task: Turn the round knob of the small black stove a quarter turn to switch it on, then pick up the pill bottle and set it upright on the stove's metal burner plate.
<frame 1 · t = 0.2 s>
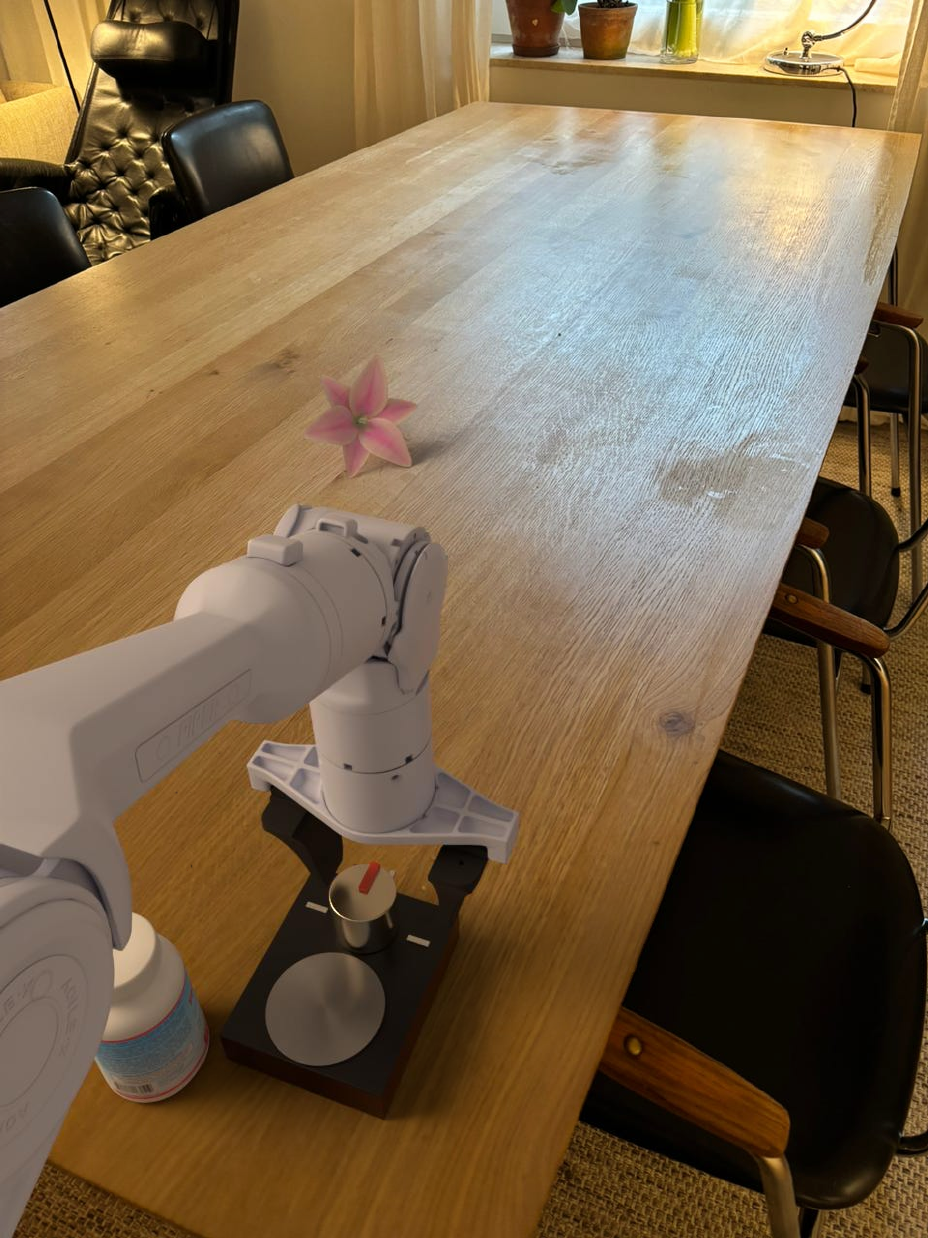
hand: (390, 891, 57), 8 cm above the table, tool pointing down, fingers open, 7 cm apart
lily: (365, 458, 108), on the table
burner: (330, 1033, 59), resting on stove
pill bottle: (158, 1054, 58), on the table
stove knob: (364, 907, 59), point 5 cm above the table, hinge at 0.0°
stove: (348, 996, 60), on the table
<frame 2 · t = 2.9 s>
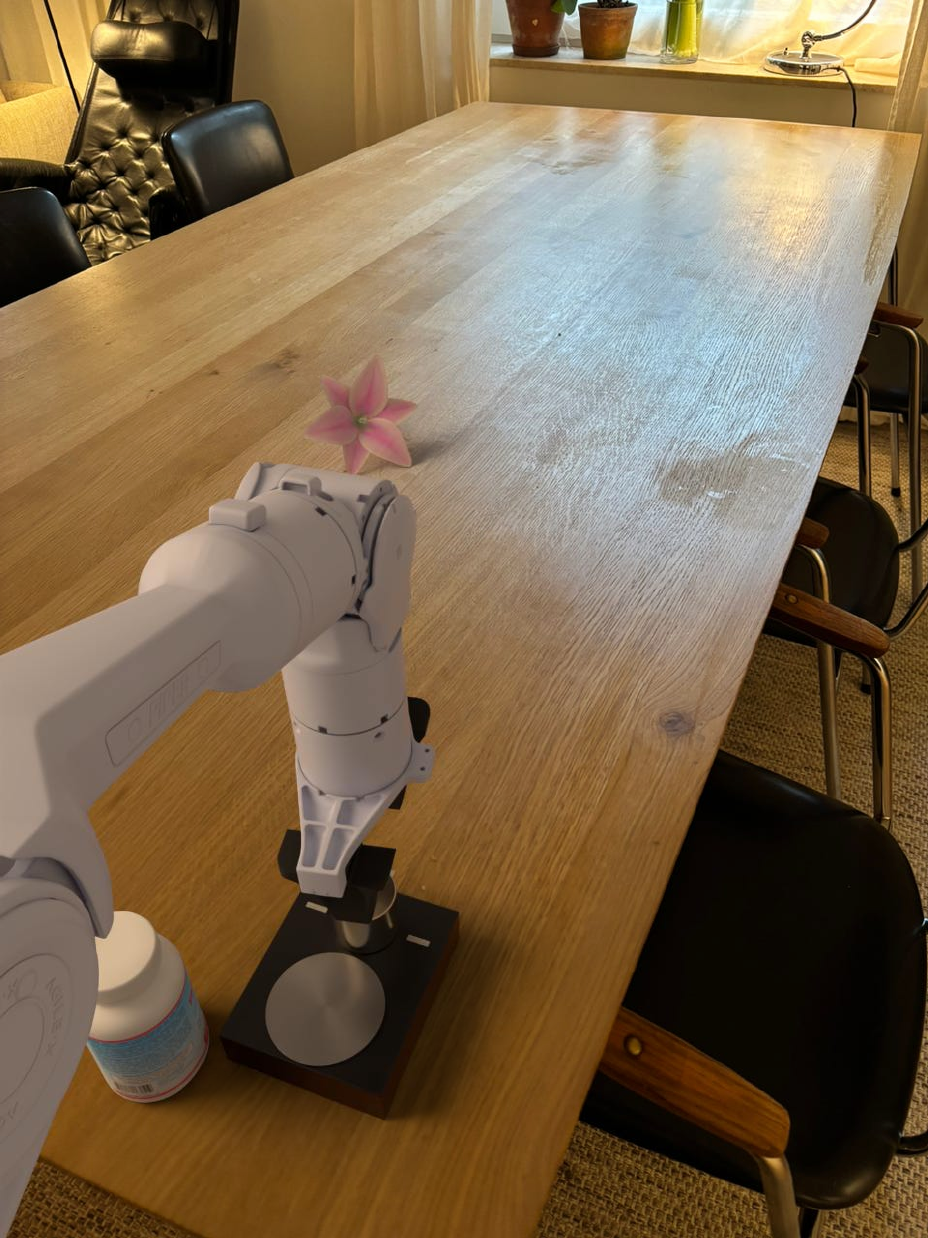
hand: (369, 857, 57), 10 cm above the table, tool pointing down, fingers open, 7 cm apart
nothing on the table moved.
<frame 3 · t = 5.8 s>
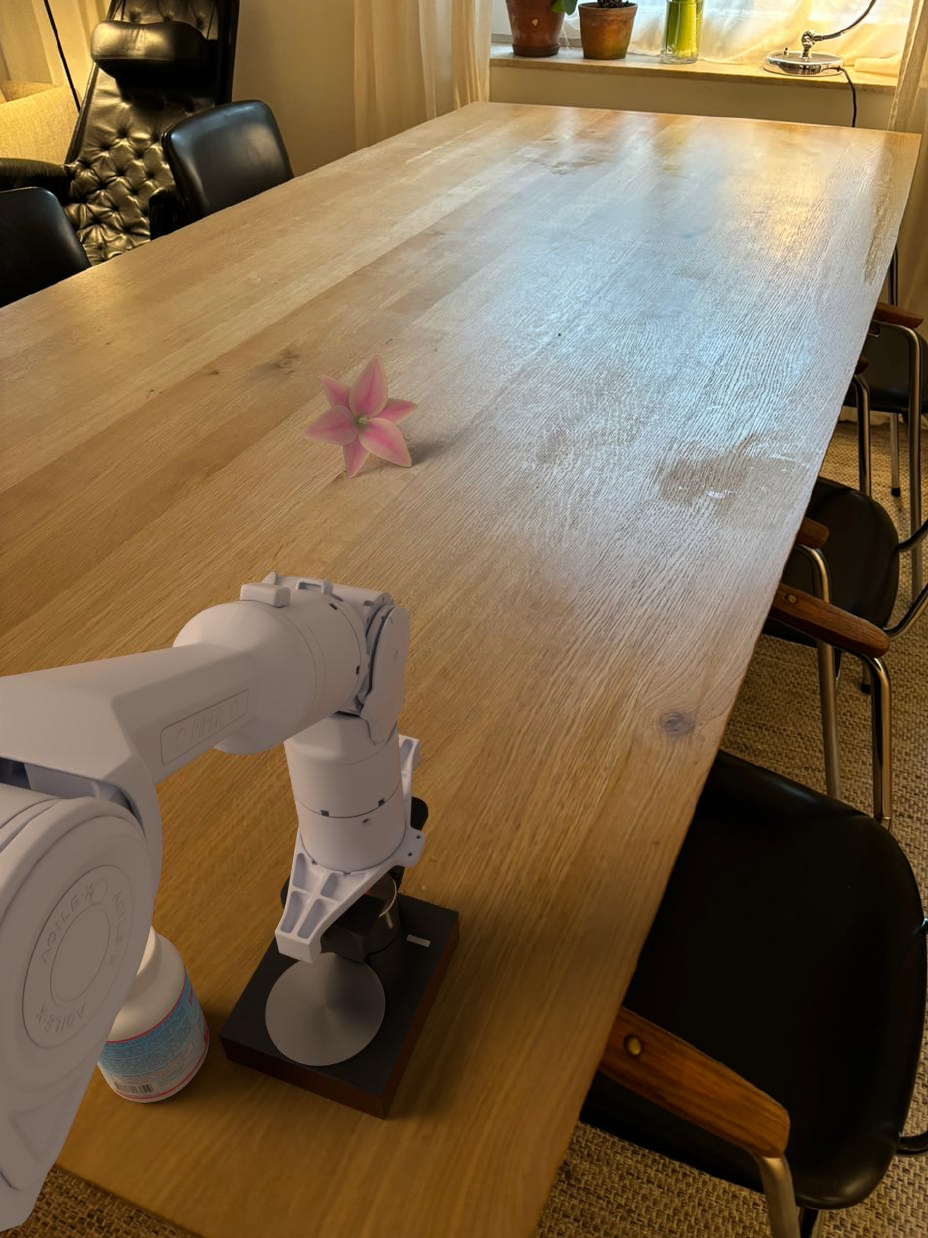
hand: (366, 921, 60), 4 cm above the table, tool pointing down, fingers closed on stove knob, 4 cm apart
stove knob: (364, 907, 59), point 5 cm above the table, hinge at 0.1°, touching gripper
everything else where it was.
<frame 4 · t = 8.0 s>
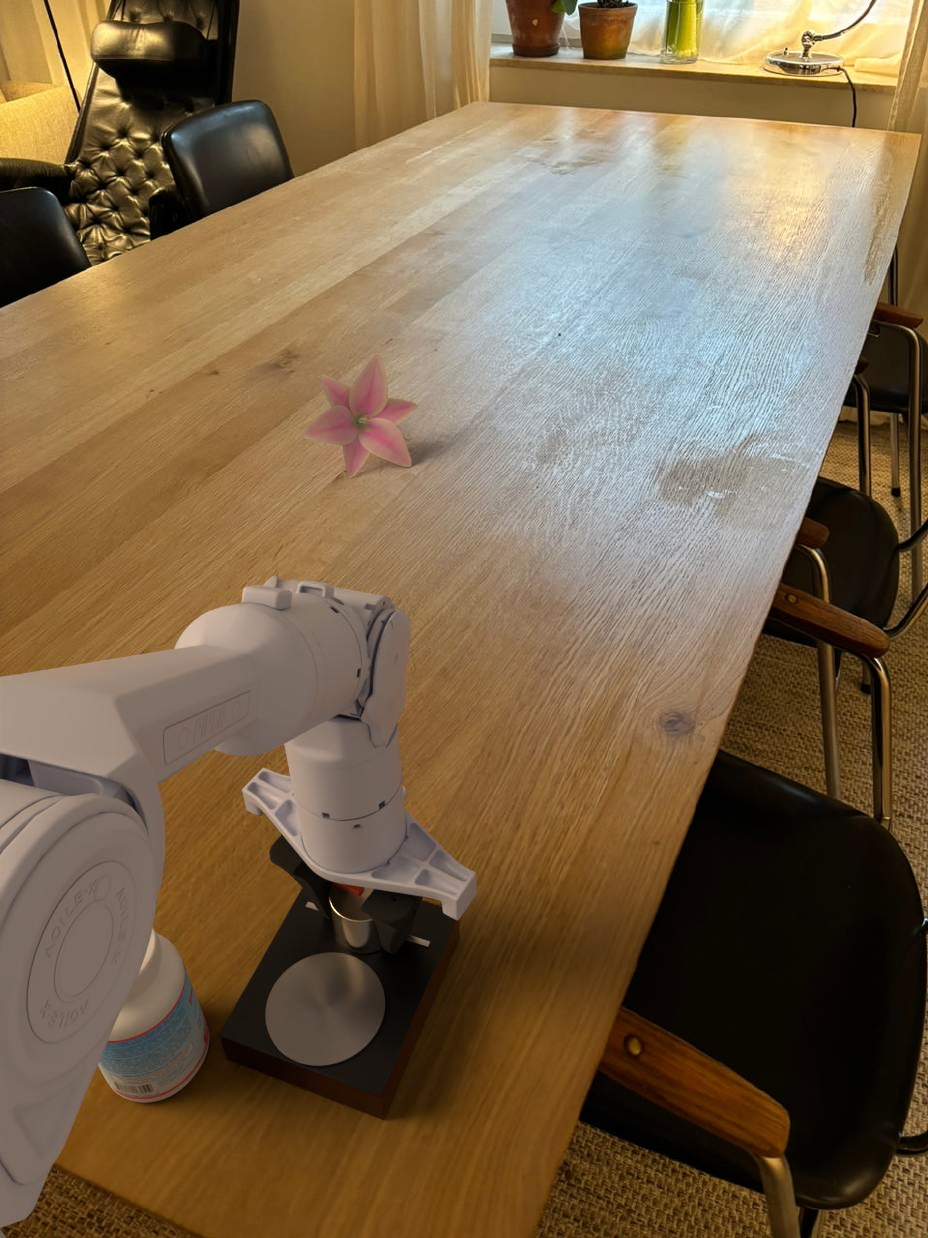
hand: (366, 922, 61), 3 cm above the table, tool pointing down, fingers open, 4 cm apart
stove knob: (364, 907, 59), point 5 cm above the table, hinge at 79.9°
everything else where it was.
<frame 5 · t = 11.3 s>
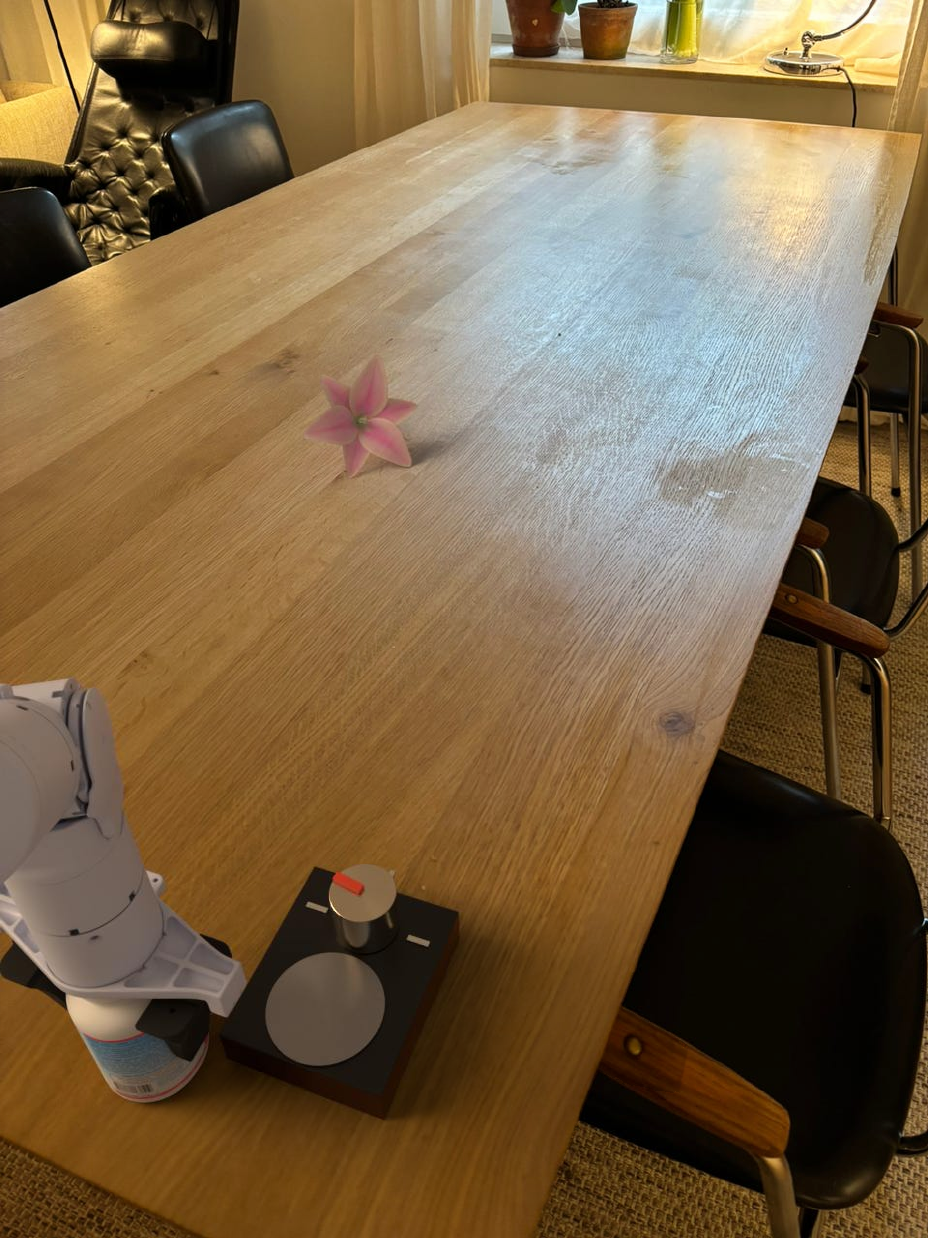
hand: (145, 1024, 56), 3 cm above the table, tool pointing down, fingers closed on pill bottle, 6 cm apart
pill bottle: (158, 1054, 58), on the table, touching gripper
everything else where it was.
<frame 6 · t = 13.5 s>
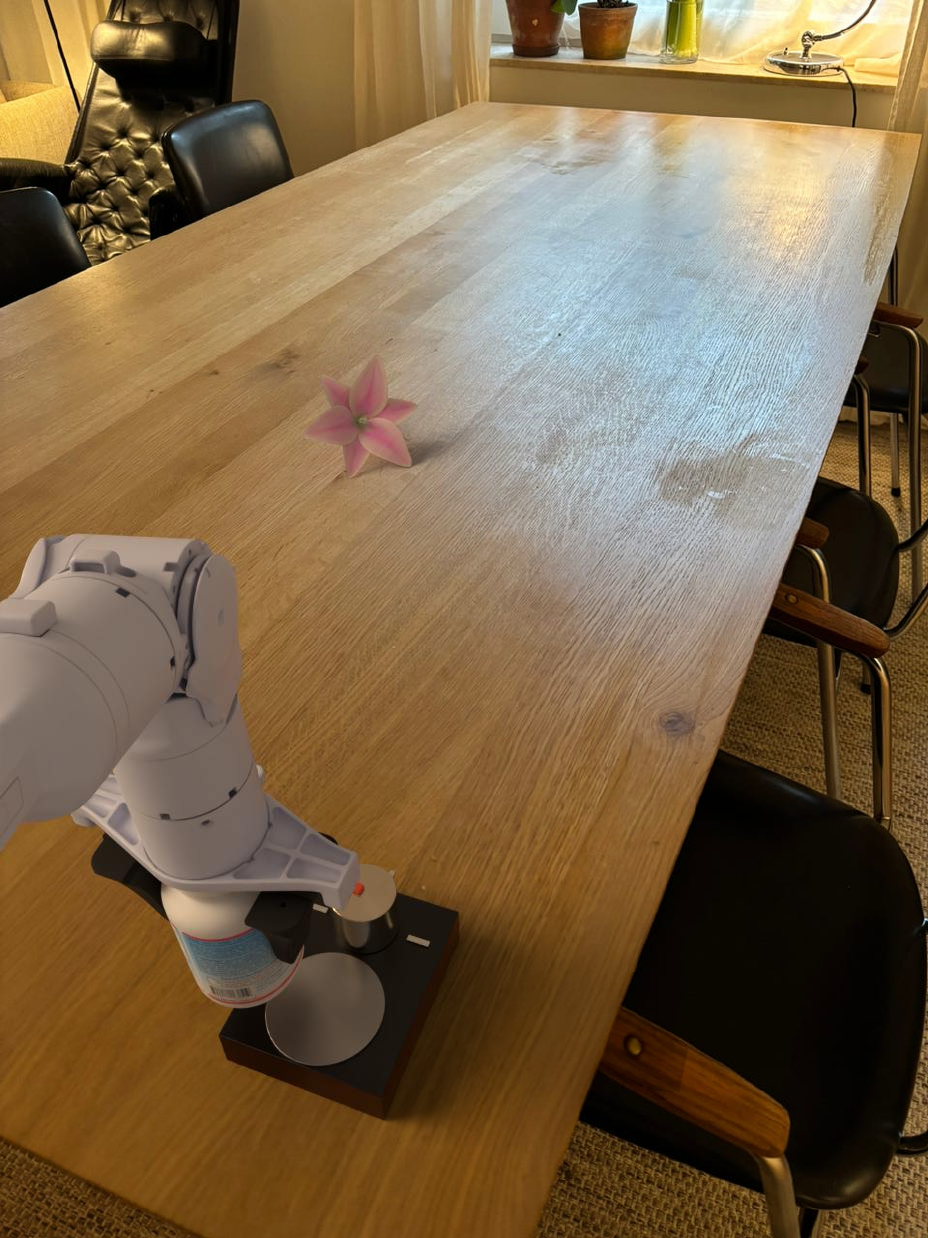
hand: (240, 927, 52), 10 cm above the table, tool pointing down, fingers closed on pill bottle, 6 cm apart
pill bottle: (250, 960, 55), point 7 cm above the table, touching gripper
everything else where it was.
when the fingers open (7 cm above the table, at t = 15.6 s): pill bottle stays where it is, resting on burner.
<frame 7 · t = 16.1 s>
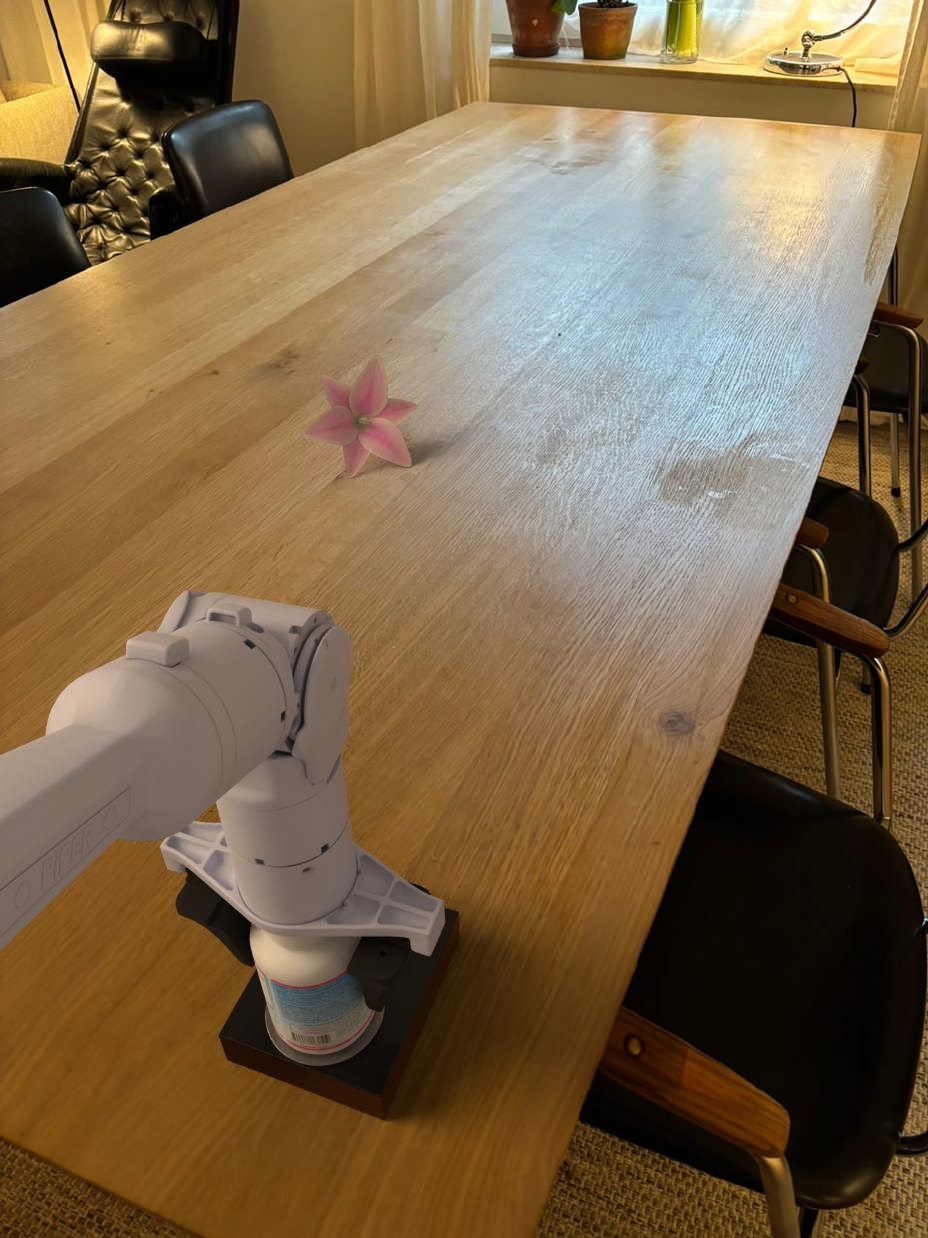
hand: (318, 972, 54), 7 cm above the table, tool pointing down, fingers open, 7 cm apart
pill bottle: (325, 1007, 57), point 3 cm above the table, touching burner
everything else where it was.
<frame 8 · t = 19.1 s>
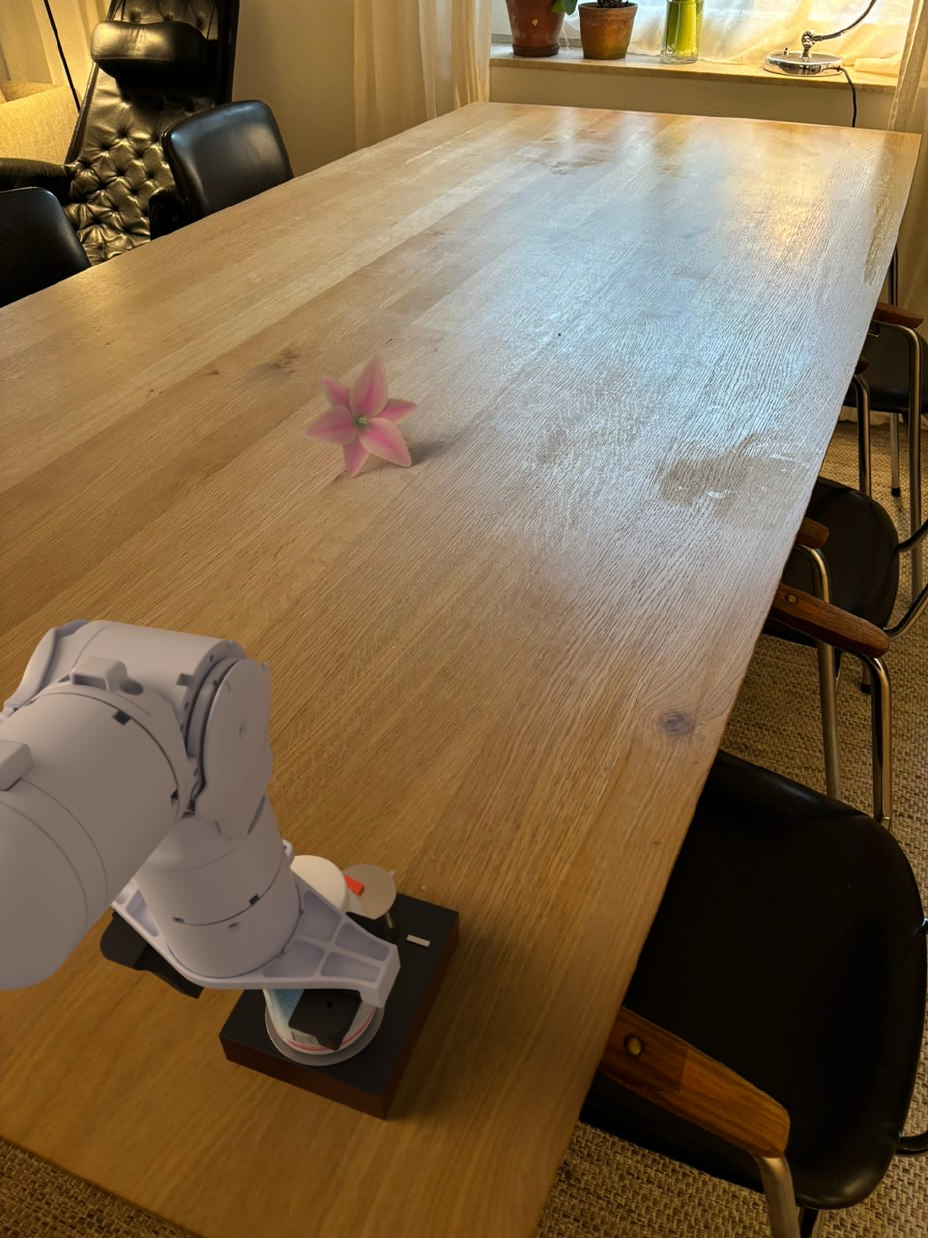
hand: (269, 1003, 49), 10 cm above the table, tool pointing down, fingers open, 7 cm apart
nothing on the table moved.
at the end: stove knob at +80° (first picture: +0°); pill bottle 0.0 cm off-centre on the burner, point 3.0 cm above the burner's base; pill bottle tilted 0° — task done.
